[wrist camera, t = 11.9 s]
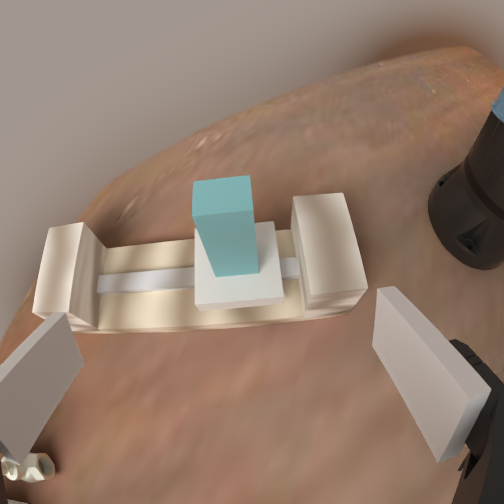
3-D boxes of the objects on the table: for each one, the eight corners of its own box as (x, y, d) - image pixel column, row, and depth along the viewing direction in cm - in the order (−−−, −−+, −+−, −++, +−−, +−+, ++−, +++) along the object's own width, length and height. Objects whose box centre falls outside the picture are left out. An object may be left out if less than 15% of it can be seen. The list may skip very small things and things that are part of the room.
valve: (64, 489, 23) (-3, 502, 13) (30, 489, 22) (-35, 496, 12) (48, 439, 26) (-23, 437, 15) (15, 443, 25) (-51, 438, 15)
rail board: (330, 231, 37) (341, 189, 30) (347, 314, 32) (368, 287, 25) (81, 256, 37) (50, 225, 30) (72, 333, 33) (32, 312, 25)
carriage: (273, 235, 34) (273, 148, 23) (282, 306, 30) (289, 240, 19) (200, 243, 34) (169, 160, 23) (201, 313, 30) (160, 253, 19)
